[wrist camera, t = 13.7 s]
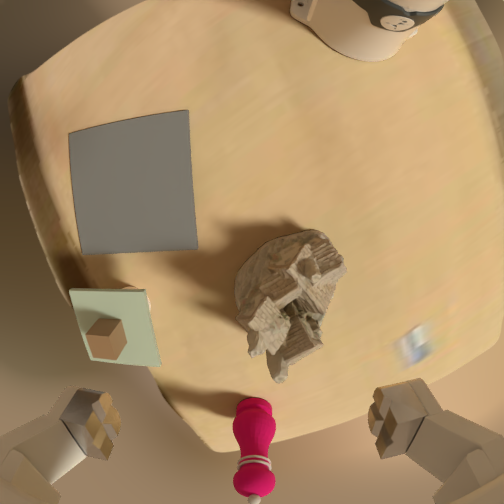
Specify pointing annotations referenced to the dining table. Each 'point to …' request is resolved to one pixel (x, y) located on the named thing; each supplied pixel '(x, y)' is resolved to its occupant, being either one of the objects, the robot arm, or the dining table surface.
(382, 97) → the dining table surface
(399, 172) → the dining table surface
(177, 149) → the mat
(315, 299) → the ceramic cottage
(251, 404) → the pepper mill
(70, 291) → the lid
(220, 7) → the dining table surface
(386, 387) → the robot arm
